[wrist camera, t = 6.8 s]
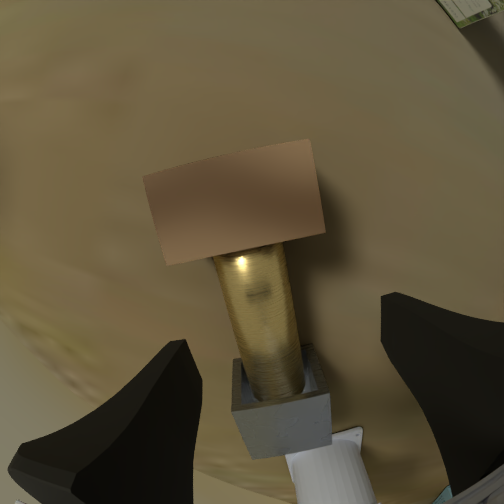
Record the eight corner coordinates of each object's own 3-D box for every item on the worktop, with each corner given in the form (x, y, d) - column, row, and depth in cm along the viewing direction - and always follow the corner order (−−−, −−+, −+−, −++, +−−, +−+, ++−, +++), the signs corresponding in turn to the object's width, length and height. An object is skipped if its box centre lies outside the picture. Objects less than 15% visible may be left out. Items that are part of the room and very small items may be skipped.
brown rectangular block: (302, 212, 17) (325, 232, 12) (187, 236, 17) (166, 266, 12) (289, 145, 16) (309, 138, 11) (170, 172, 16) (142, 176, 11)
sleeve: (318, 397, 22) (332, 444, 17) (250, 410, 22) (252, 459, 17) (312, 343, 20) (329, 392, 15) (232, 359, 20) (231, 411, 15)
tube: (300, 363, 19) (310, 398, 16) (250, 373, 20) (252, 409, 16) (266, 174, 16) (274, 177, 12) (201, 188, 16) (190, 195, 12)
